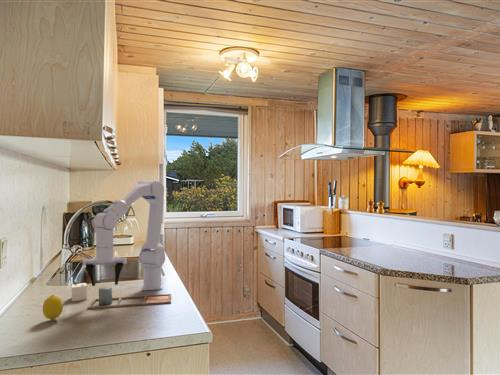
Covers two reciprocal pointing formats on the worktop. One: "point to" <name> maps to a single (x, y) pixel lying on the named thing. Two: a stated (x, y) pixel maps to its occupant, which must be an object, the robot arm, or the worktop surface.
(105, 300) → the grey rounded cylinder
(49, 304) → the lemon
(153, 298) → the board
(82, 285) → the die
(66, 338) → the worktop surface
